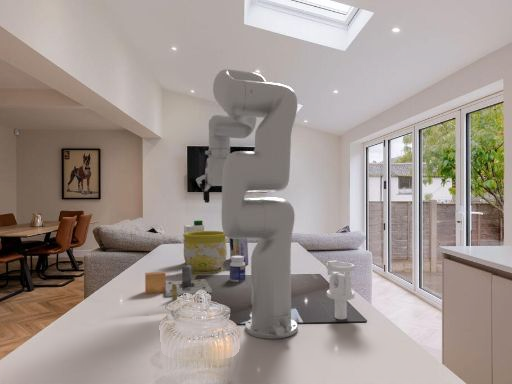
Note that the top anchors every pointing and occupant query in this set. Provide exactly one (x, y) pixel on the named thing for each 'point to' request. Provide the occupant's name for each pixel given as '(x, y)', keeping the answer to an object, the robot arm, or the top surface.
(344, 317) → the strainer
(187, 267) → the board
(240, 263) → the pill bottle
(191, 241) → the flowerpot
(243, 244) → the cake pan box
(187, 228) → the milk carton
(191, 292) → the flange plate
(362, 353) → the top surface
